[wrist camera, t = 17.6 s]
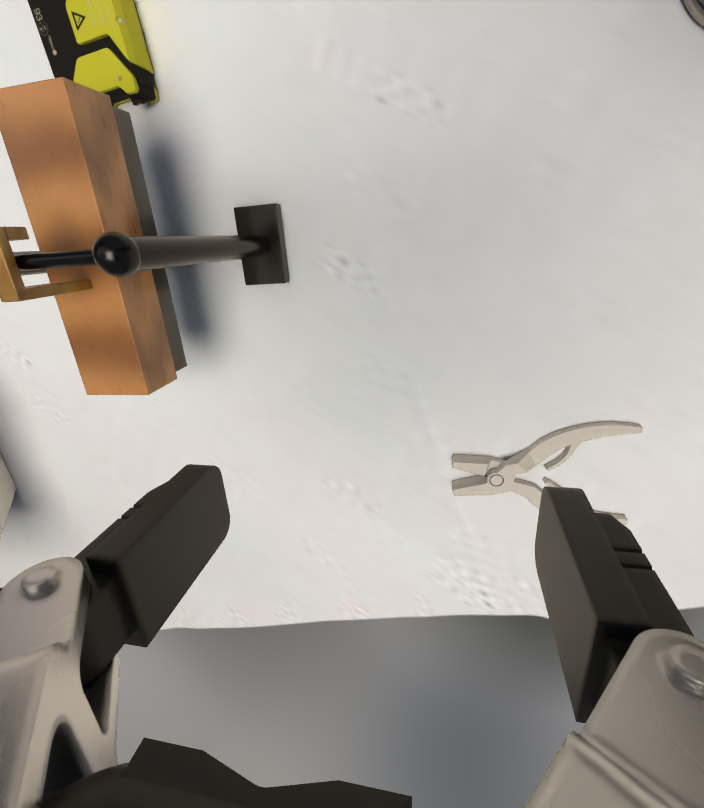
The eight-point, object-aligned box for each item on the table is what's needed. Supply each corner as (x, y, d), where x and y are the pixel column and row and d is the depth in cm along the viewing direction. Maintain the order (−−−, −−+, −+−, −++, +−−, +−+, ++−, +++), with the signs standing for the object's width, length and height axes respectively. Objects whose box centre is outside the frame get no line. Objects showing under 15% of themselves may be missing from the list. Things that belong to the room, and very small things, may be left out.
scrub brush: (67, 115, 28) (-127, 56, 19) (132, 104, 27) (-38, 36, 18) (137, 371, 35) (21, 425, 25) (191, 370, 34) (92, 426, 24)
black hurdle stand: (83, 223, 38) (-207, 214, 21) (280, 204, 34) (118, 174, 17) (102, 292, 40) (-148, 334, 23) (289, 281, 36) (153, 323, 19)
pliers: (630, 533, 36) (452, 524, 40) (623, 521, 38) (452, 514, 41) (647, 429, 33) (451, 429, 36) (639, 421, 34) (451, 422, 38)
